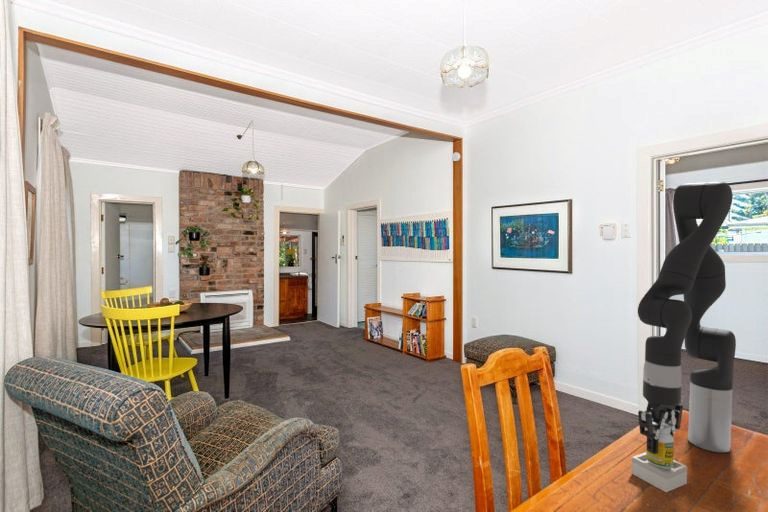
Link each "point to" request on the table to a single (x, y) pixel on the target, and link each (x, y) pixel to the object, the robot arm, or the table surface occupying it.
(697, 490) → the table surface
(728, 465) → the table surface
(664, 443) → the supplement bottle
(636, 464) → the grey open box
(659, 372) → the robot arm
